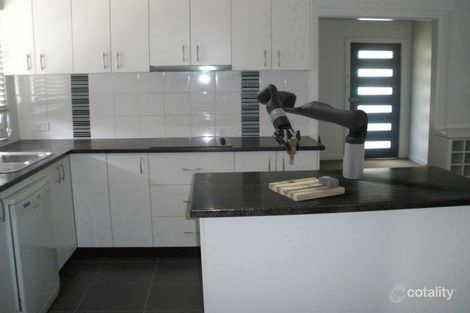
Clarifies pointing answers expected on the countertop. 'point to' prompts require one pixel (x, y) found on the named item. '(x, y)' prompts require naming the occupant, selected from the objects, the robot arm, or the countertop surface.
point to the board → (304, 189)
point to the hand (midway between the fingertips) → (294, 150)
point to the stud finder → (328, 181)
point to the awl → (292, 150)
